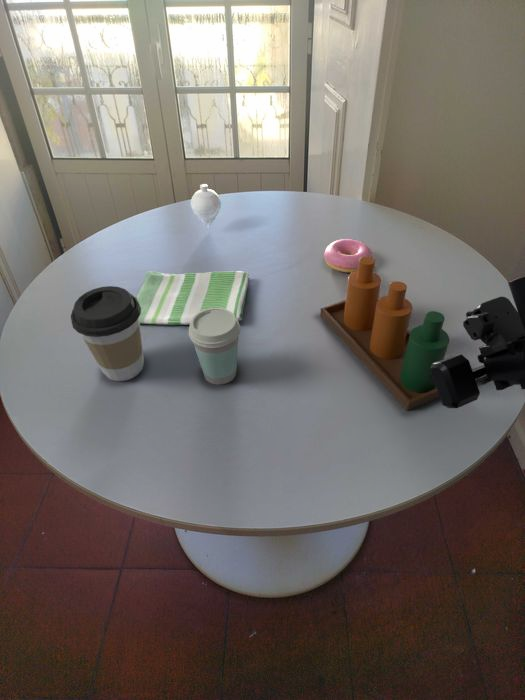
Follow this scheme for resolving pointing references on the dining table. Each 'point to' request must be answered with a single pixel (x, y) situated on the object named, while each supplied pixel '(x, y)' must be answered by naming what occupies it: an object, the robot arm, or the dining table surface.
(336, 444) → the dining table surface
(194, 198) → the spinning top
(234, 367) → the coffee cup
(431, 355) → the green bottle
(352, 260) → the doughnut
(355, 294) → the amber bottle
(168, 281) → the dish towel
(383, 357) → the amber bottle
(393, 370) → the tray
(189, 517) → the dining table surface
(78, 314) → the coffee cup
